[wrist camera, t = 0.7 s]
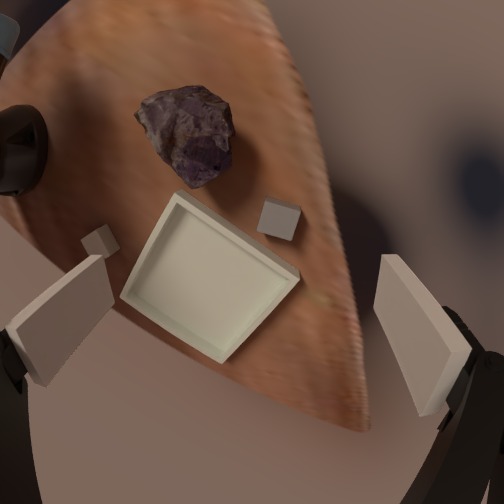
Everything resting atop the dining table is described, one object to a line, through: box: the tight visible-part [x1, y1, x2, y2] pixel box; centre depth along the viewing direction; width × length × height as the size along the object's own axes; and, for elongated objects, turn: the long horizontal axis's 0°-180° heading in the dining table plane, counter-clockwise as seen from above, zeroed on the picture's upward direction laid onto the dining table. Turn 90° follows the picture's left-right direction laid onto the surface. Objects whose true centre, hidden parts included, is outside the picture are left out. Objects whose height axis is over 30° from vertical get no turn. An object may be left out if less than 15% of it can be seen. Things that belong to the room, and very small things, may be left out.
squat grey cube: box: [256, 196, 301, 241], centre depth 33 cm, size 4×4×3 cm
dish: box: [120, 189, 300, 364], centre depth 37 cm, size 18×18×2 cm
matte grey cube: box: [81, 224, 120, 259], centre depth 37 cm, size 4×4×3 cm
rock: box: [134, 86, 235, 189], centre depth 28 cm, size 12×9×10 cm
